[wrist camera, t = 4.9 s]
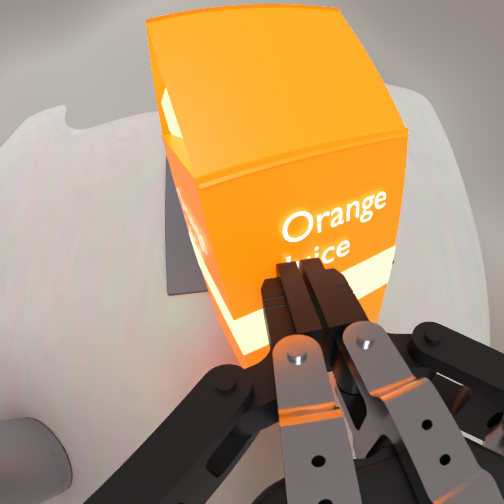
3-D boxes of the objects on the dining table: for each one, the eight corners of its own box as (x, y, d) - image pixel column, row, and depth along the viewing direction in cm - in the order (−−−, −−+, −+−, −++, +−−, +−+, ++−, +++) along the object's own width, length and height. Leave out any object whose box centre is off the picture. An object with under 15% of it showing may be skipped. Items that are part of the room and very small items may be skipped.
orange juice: (372, 343, 19) (405, 2, 6) (259, 404, 16) (151, -12, 4) (314, 279, 24) (296, 17, 12) (217, 321, 22) (137, 37, 10)
